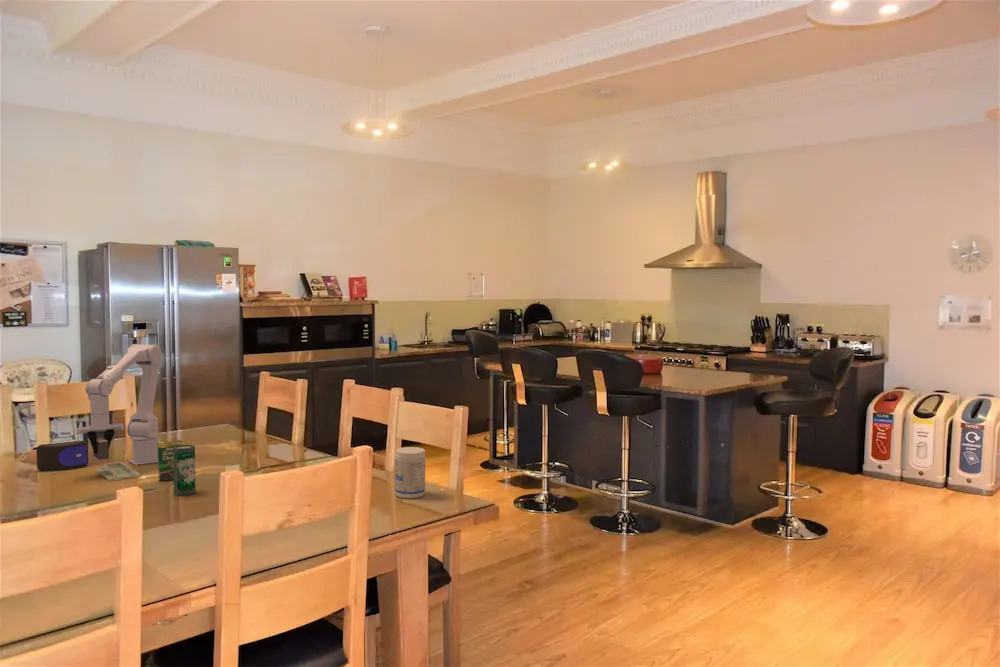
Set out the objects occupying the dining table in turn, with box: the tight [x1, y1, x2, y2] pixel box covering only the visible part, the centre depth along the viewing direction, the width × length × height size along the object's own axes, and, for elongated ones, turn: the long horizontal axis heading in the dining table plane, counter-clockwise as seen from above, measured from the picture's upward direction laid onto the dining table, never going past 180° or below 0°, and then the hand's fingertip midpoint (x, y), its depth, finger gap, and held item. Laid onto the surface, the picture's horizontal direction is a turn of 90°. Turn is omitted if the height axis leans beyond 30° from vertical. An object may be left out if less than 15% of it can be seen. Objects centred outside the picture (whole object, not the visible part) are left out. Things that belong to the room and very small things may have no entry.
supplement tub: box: [394, 446, 426, 499], centre depth 246 cm, size 10×10×15 cm
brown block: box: [93, 437, 110, 461], centre depth 266 cm, size 3×8×6 cm, turn 40°
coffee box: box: [157, 439, 183, 482], centre depth 262 cm, size 8×3×13 cm, turn 115°
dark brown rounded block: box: [35, 440, 89, 472], centre depth 275 cm, size 16×5×9 cm, turn 123°
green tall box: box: [173, 444, 197, 497], centre depth 246 cm, size 6×6×15 cm
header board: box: [95, 461, 142, 481], centre depth 269 cm, size 10×18×2 cm, turn 40°
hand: (101, 452), depth 266 cm, fingers closed on brown block, 3 cm apart
